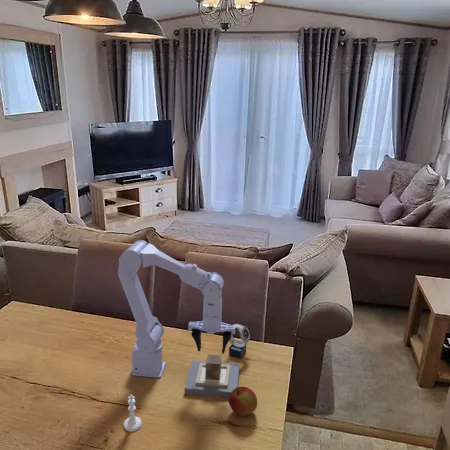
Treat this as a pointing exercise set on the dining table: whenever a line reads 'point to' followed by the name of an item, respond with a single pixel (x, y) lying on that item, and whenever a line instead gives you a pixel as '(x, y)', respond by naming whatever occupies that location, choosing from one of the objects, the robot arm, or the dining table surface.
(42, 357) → the dining table surface
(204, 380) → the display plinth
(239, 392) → the apple
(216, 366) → the walnut block
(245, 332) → the watch
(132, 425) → the chess piece
